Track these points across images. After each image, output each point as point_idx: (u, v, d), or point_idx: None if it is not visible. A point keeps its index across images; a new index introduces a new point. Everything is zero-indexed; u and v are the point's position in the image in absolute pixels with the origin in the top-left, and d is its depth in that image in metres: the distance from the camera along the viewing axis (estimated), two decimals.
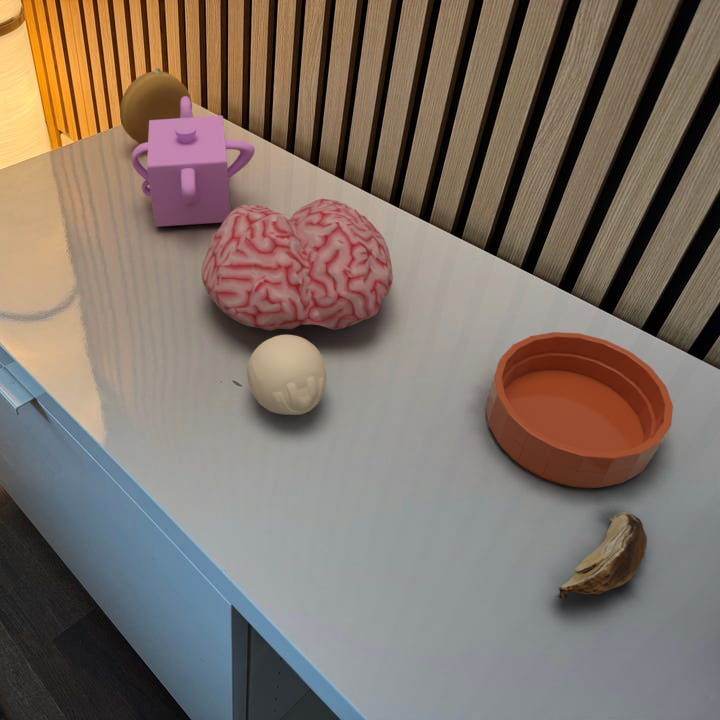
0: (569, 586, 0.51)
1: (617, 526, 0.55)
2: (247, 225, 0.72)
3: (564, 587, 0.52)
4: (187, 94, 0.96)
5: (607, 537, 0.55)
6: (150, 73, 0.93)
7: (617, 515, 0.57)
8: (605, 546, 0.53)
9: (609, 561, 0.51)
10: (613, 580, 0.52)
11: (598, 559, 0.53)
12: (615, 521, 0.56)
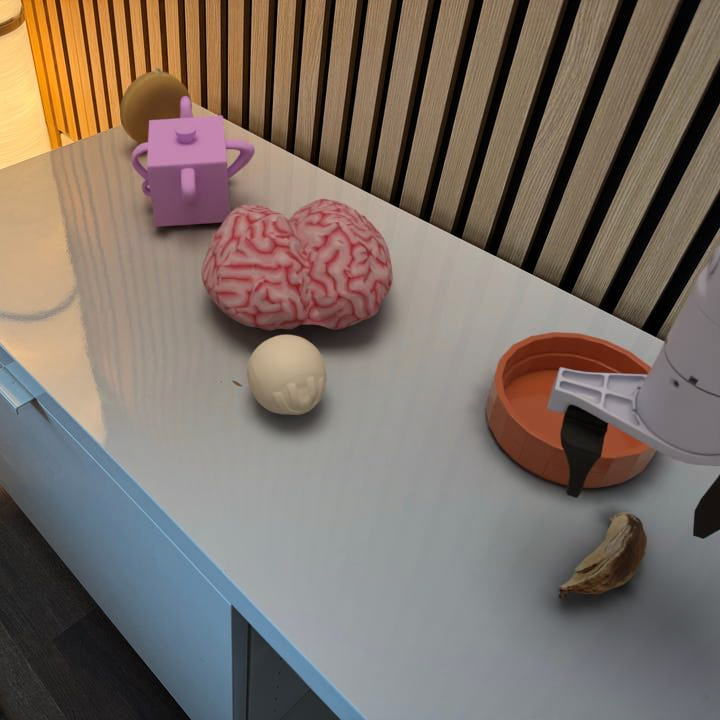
0: (569, 586, 0.51)
1: (617, 526, 0.55)
2: (247, 225, 0.72)
3: (564, 587, 0.52)
4: (187, 94, 0.96)
5: (607, 537, 0.55)
6: (150, 73, 0.93)
7: (617, 515, 0.57)
8: (605, 546, 0.53)
9: (609, 560, 0.51)
10: (613, 580, 0.52)
11: (598, 559, 0.53)
12: (615, 521, 0.56)
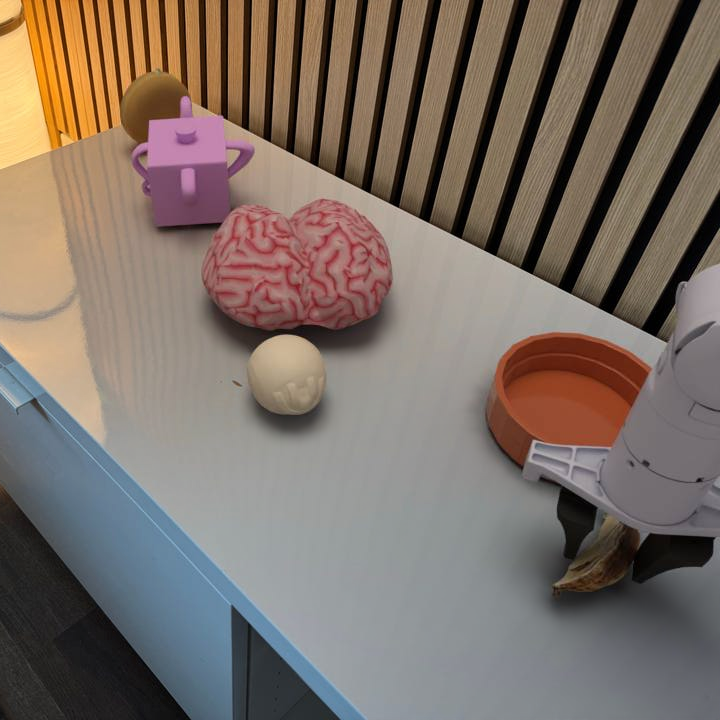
0: (562, 584, 0.51)
1: (610, 524, 0.55)
2: (247, 225, 0.72)
3: (557, 585, 0.52)
4: (187, 94, 0.96)
5: (600, 535, 0.55)
6: (150, 73, 0.93)
7: None
8: (598, 544, 0.53)
9: (602, 558, 0.51)
10: (606, 578, 0.52)
11: (591, 556, 0.53)
12: (608, 519, 0.57)
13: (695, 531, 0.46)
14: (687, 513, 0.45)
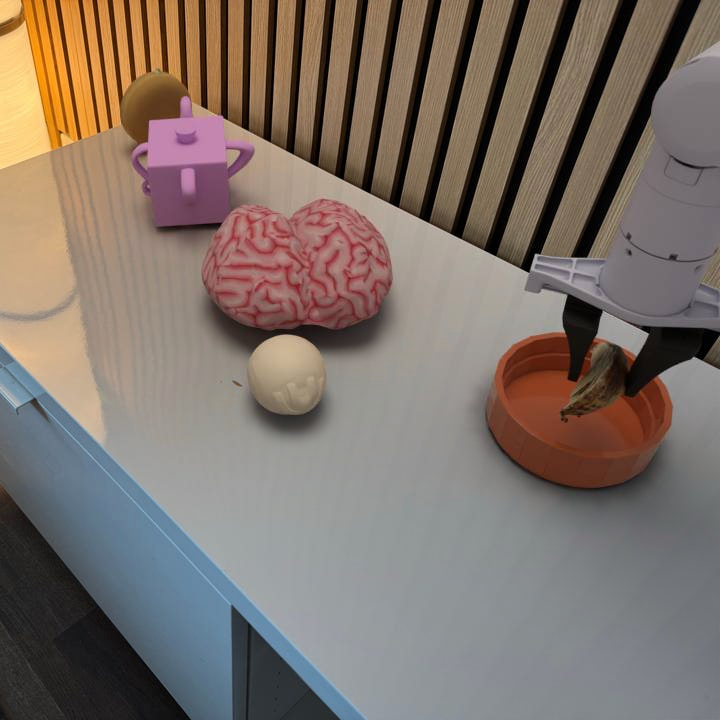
0: (570, 404, 0.53)
1: (600, 350, 0.58)
2: (247, 225, 0.72)
3: (565, 407, 0.54)
4: (187, 94, 0.96)
5: (592, 364, 0.58)
6: (150, 73, 0.93)
7: (596, 346, 0.60)
8: (594, 367, 0.56)
9: (601, 374, 0.54)
10: (608, 393, 0.54)
11: (590, 378, 0.55)
12: (596, 350, 0.59)
13: (689, 321, 0.48)
14: (681, 302, 0.48)
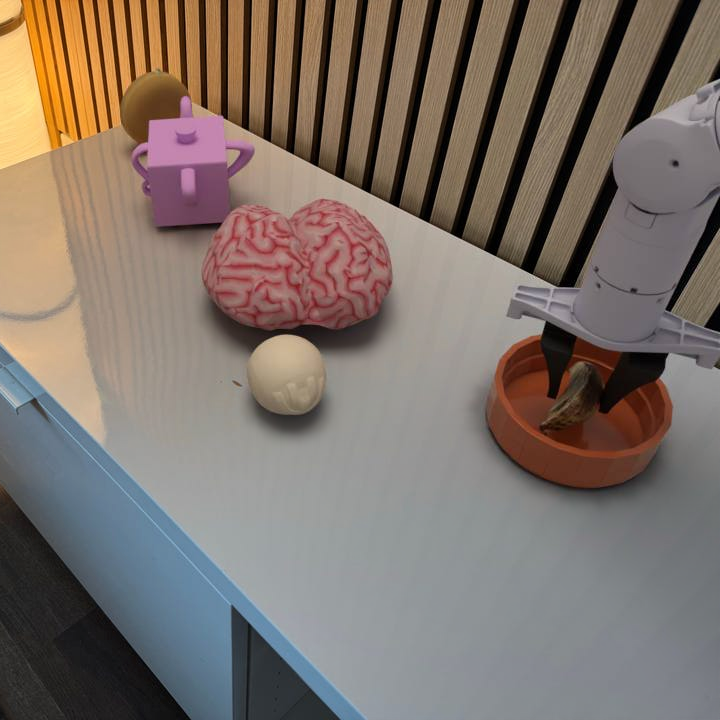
0: (548, 420, 0.59)
1: (577, 370, 0.63)
2: (247, 225, 0.72)
3: (544, 422, 0.59)
4: (187, 94, 0.96)
5: (570, 382, 0.63)
6: (150, 73, 0.93)
7: (574, 365, 0.65)
8: (570, 385, 0.61)
9: (577, 392, 0.59)
10: (583, 410, 0.59)
11: (567, 396, 0.60)
12: (574, 369, 0.64)
13: (653, 347, 0.53)
14: (646, 330, 0.53)
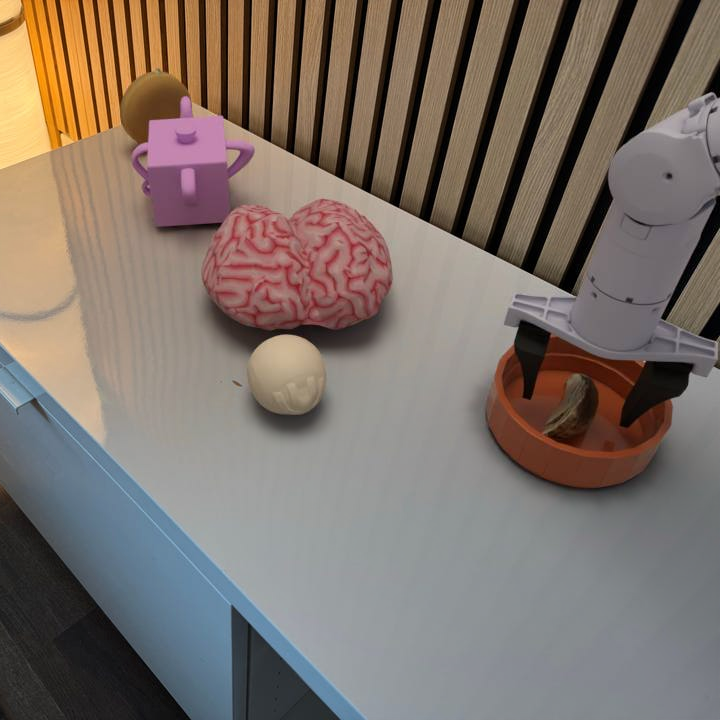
0: (545, 433, 0.60)
1: (574, 382, 0.64)
2: (247, 225, 0.72)
3: None
4: (187, 94, 0.96)
5: (566, 394, 0.64)
6: (150, 73, 0.93)
7: (570, 377, 0.66)
8: (567, 398, 0.62)
9: (574, 406, 0.60)
10: (579, 423, 0.60)
11: (564, 409, 0.61)
12: (570, 381, 0.65)
13: (649, 355, 0.54)
14: (642, 339, 0.54)
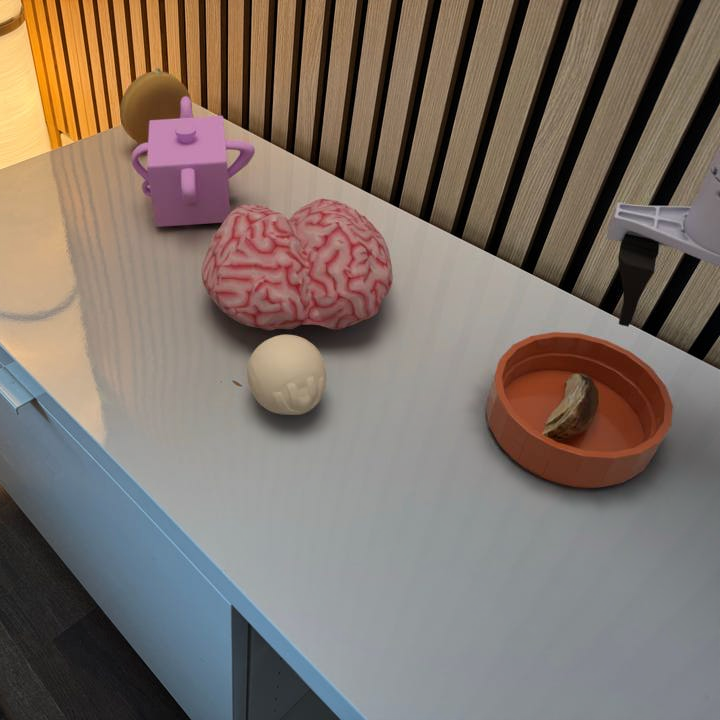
0: (545, 433, 0.60)
1: (574, 382, 0.64)
2: (247, 225, 0.72)
3: None
4: (187, 94, 0.96)
5: (566, 394, 0.64)
6: (150, 73, 0.93)
7: (570, 377, 0.66)
8: (567, 398, 0.62)
9: (574, 406, 0.60)
10: (579, 423, 0.60)
11: (564, 409, 0.61)
12: (570, 381, 0.65)
13: None
14: None
